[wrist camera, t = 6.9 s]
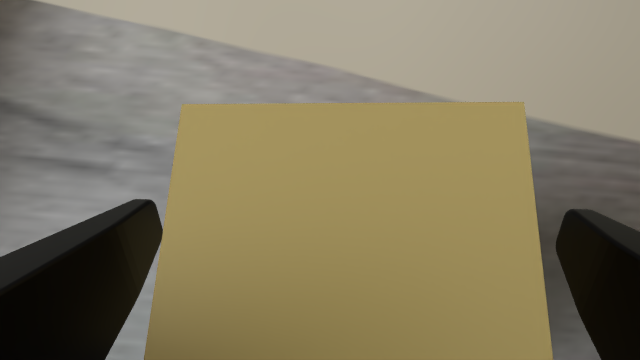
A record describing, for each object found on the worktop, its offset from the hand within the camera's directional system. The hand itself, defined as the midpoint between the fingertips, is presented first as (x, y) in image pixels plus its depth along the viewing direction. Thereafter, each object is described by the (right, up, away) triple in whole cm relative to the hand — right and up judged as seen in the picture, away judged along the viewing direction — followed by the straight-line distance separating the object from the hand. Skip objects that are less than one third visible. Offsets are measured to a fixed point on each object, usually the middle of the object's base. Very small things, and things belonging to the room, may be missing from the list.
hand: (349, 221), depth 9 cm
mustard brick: (+1, -4, +7) cm, 8 cm away
